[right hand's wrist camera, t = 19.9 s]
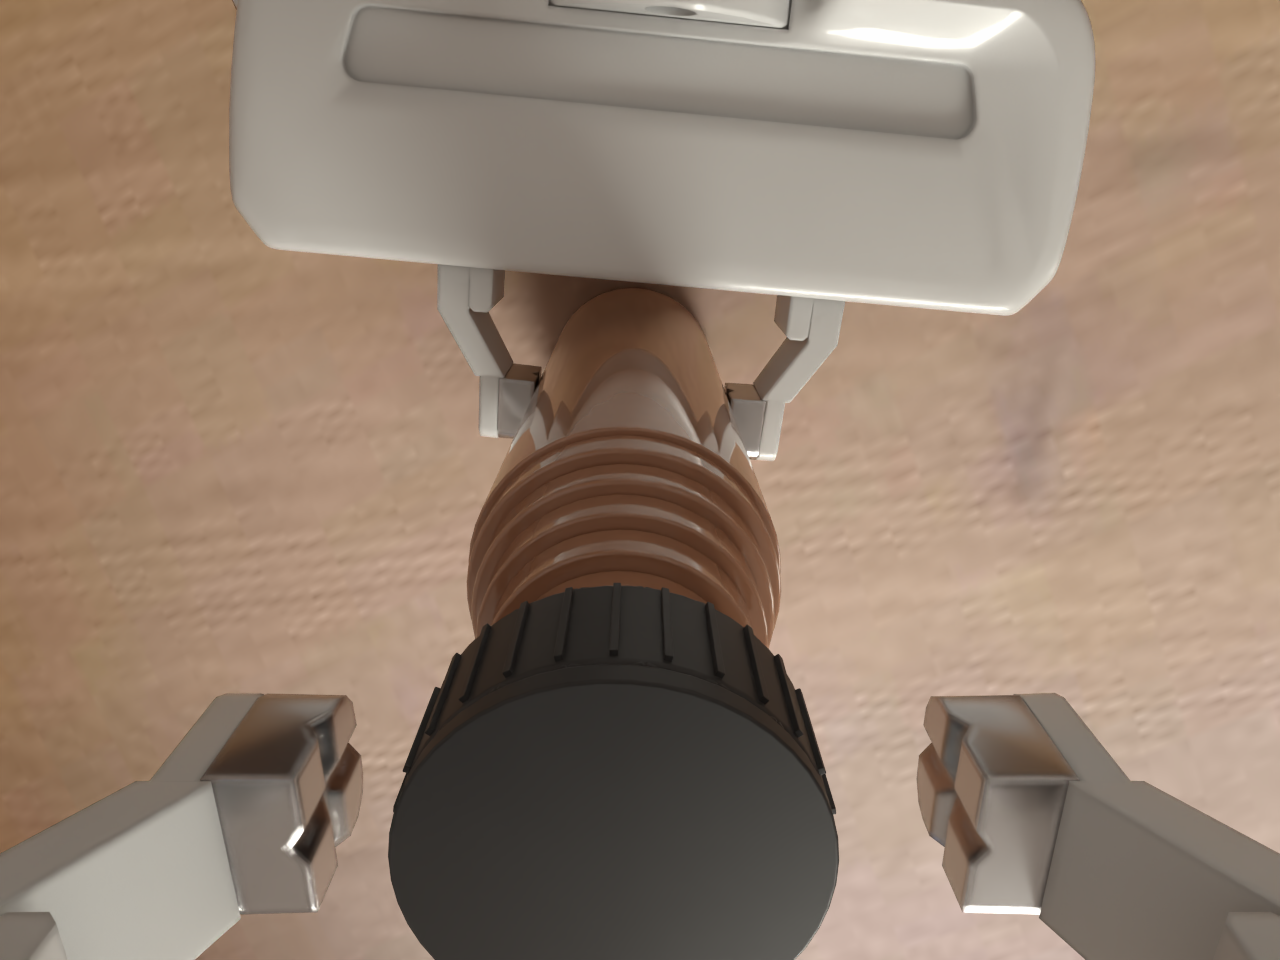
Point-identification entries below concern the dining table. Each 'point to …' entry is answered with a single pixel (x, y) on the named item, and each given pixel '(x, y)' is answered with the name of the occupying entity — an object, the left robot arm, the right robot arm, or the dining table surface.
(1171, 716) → the dining table surface
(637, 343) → the bottle
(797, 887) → the cap
